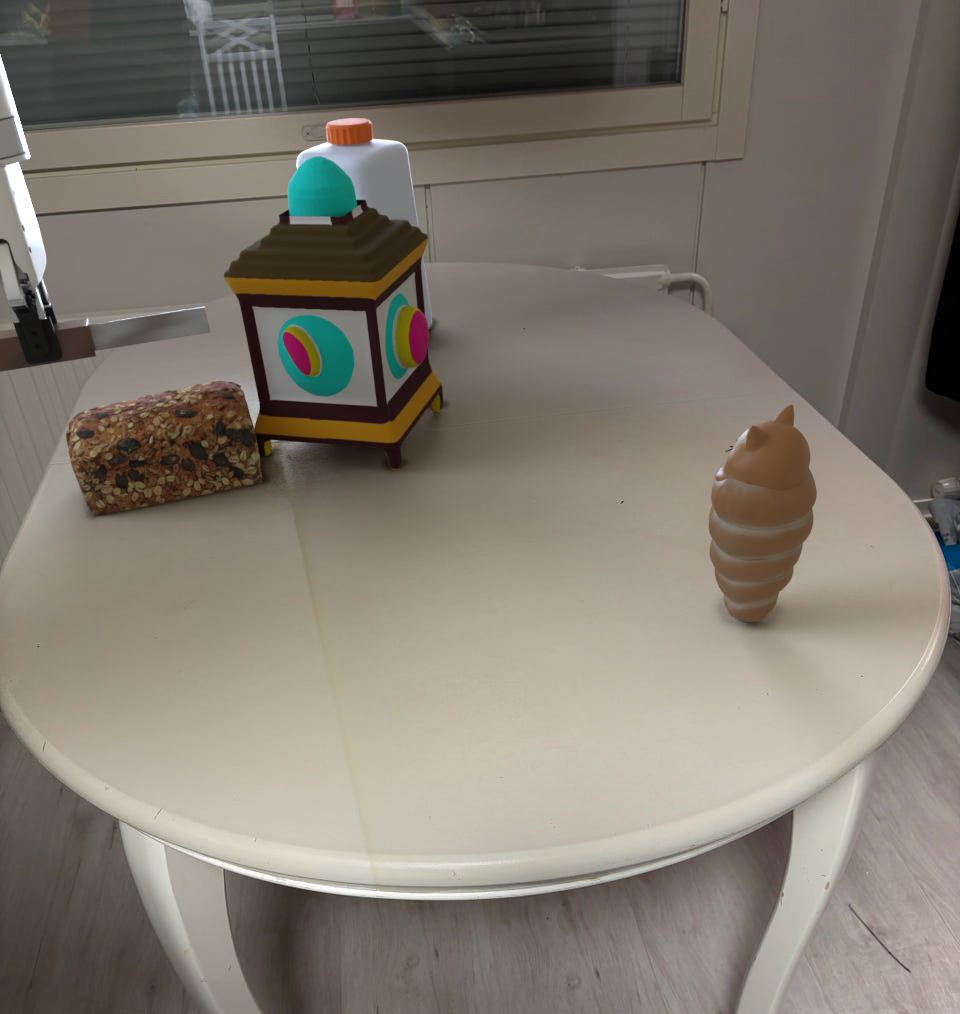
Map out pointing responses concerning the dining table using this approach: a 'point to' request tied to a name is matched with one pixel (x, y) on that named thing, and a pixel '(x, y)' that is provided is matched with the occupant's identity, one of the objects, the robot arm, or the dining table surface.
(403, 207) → the plastic bottle
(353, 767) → the dining table surface
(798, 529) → the cat ice cream
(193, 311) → the knife
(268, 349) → the decorative lantern
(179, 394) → the bread
